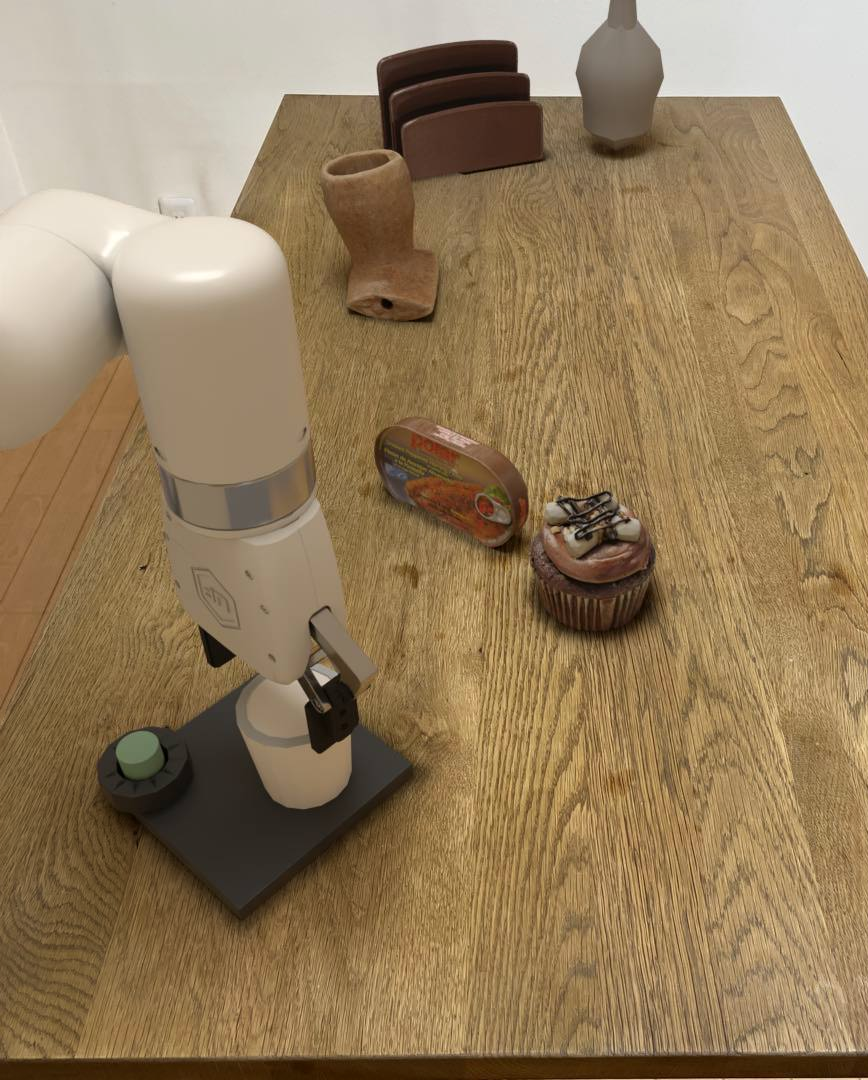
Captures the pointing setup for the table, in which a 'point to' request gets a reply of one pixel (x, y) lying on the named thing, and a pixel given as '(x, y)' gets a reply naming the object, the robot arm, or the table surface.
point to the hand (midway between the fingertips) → (282, 694)
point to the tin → (452, 478)
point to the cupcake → (592, 562)
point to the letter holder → (459, 108)
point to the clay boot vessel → (380, 235)
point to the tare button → (140, 755)
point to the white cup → (290, 743)
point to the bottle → (619, 78)
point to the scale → (242, 805)
